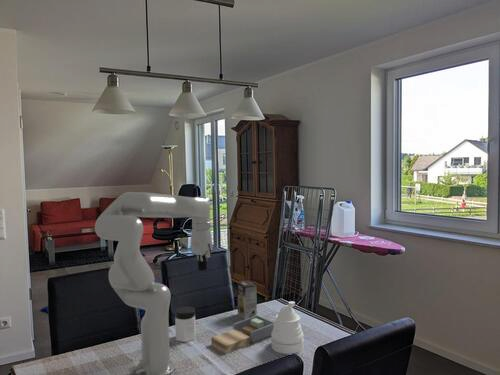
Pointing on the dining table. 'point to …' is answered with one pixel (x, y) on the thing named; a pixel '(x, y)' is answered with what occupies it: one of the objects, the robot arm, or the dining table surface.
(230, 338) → the board
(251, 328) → the tile near
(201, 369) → the dining table surface
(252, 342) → the tray
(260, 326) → the tile far
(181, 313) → the jar
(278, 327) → the honey pot
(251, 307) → the coffee box
